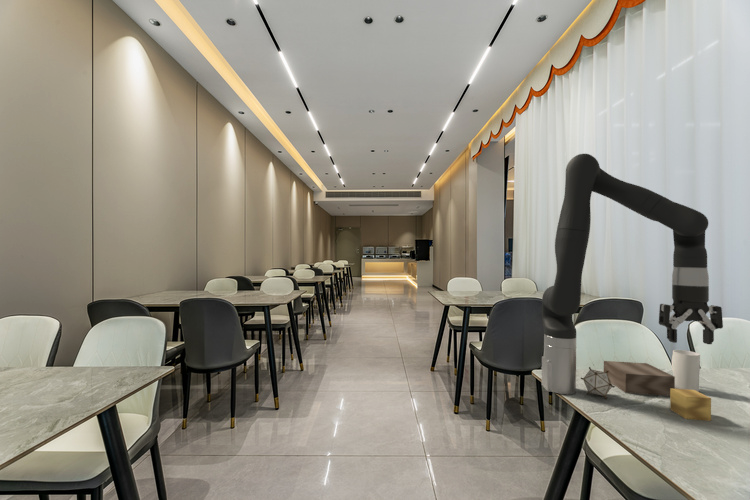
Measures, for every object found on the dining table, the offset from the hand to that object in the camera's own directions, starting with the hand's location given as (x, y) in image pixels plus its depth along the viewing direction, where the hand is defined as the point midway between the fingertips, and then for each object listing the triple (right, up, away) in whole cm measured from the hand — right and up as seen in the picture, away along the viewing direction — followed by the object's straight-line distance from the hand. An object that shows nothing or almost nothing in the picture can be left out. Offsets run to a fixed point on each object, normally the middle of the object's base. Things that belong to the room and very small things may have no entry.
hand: (690, 342), depth 97 cm
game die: (-18, -20, +12) cm, 29 cm away
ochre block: (0, -20, 0) cm, 20 cm away
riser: (+1, -20, +21) cm, 29 cm away
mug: (+16, -20, +20) cm, 33 cm away
